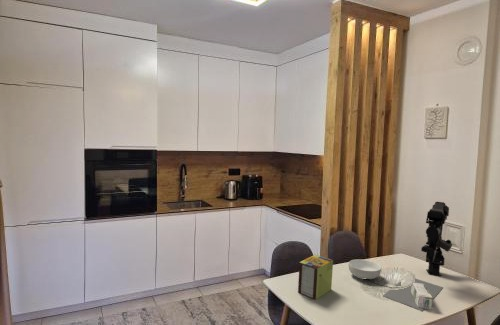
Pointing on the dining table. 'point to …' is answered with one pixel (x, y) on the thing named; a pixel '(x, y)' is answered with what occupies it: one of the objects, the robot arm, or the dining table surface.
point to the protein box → (315, 276)
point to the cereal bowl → (364, 269)
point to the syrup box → (421, 295)
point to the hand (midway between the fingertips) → (431, 261)
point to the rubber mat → (406, 296)
